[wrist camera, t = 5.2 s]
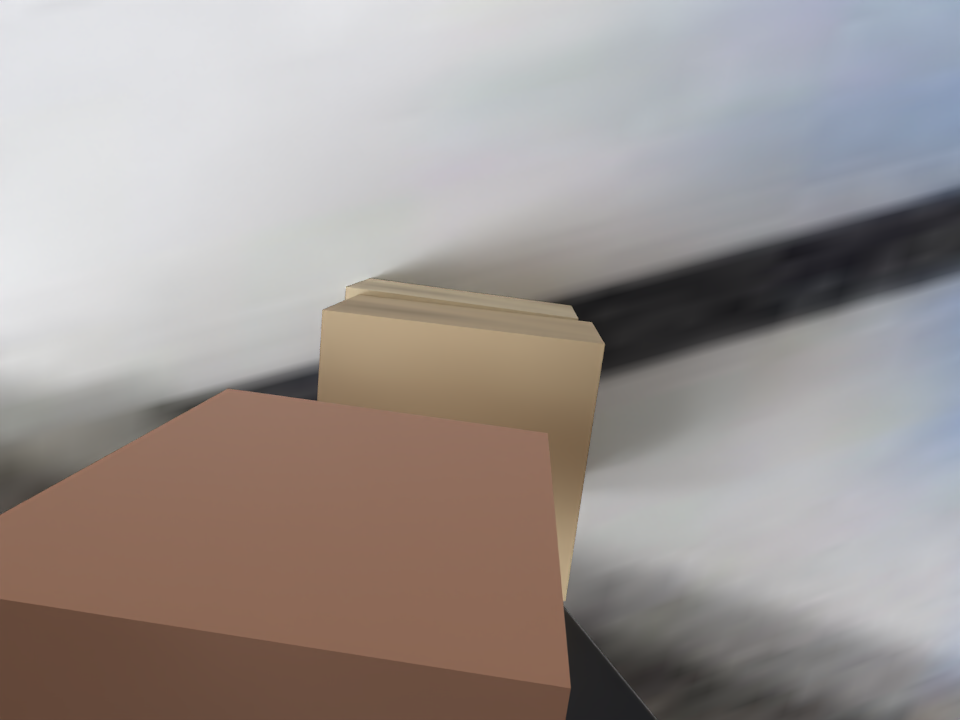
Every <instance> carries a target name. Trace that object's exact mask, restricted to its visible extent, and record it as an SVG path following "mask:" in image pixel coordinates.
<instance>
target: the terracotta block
mask: <svg viewBox="0 0 960 720" xmlns="http://www.w3.org/2000/svg"><path fill="white" fill-rule="evenodd" d="M570 690H571V684H570V673H569V662H568V651H567V640H566V629H565V618H564V607H563V595H562V584H561V573H560V562H559V551H558V540H557V529H556V518H555V507H554V496H553V485H552V474H551V462H550V451H549V440H548V433H544V432H537V431H529V430H522V429H515V428H508V427H501V426H493V425H486V424H479V423H472V422H465V421H457V420H450V419H443V418H436V417H429V416H422V415H414V414H407V413H400V412H393V411H386V410H378V409H371V408H364V407H357V406H350V405H342V404H335V403H328V402H321V401H314V400H306V399H299V398H292V397H285V396H278V395H270V394H263V393H256V392H249V391H242V390H234V389H226V390H224V391H223V392H221V393H219V394H217V395H215V396H214V397H212V398H210V399H208V400H206V401H205V402H203V403H201V404H199V405H197V406H196V407H194V408H192V409H190V410H188V411H187V412H185V413H183V414H181V415H179V416H178V417H176V418H174V419H172V420H170V421H169V422H167V423H165V424H163V425H161V426H160V427H158V428H156V429H154V430H152V431H151V432H149V433H147V434H145V435H143V436H142V437H140V438H138V439H136V440H134V441H132V442H131V443H129V444H127V445H125V446H123V447H122V448H120V449H118V450H116V451H114V452H113V453H111V454H109V455H107V456H105V457H104V458H102V459H100V460H98V461H96V462H95V463H93V464H91V465H89V466H87V467H86V468H84V469H82V470H80V471H78V472H77V473H75V474H73V475H71V476H69V477H68V478H66V479H64V480H62V481H60V482H59V483H57V484H55V485H53V486H51V487H50V488H48V489H46V490H44V491H42V492H41V493H39V494H37V495H35V496H33V497H32V498H30V499H28V500H26V501H24V502H23V503H21V504H19V505H17V506H15V507H13V508H12V509H10V510H8V511H6V512H4V513H3V514H1V515H0V720H565V719H566V713H567V708H568V702H569V696H570Z"/></svg>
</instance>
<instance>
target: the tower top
mask: <svg viewBox="0 0 960 720" xmlns="http://www.w3.org/2000/svg"><path fill="white" fill-rule="evenodd" d="M604 347H605V343H604V342H603V340H602V338H601V337H600V335H599V333H598V332H597V330H596V328H595V327H594V325H593V324H592V322H586V321H577V320H569V319H561V318H552V317H544V316H536V315H527V314H519V313H511V312H502V311H494V310H486V309H477V308H469V307H460V306H452V305H444V304H435V303H427V302H419V301H410V300H402V299H394V298H385V297H377V296H369V295H360V294H358V295H356V296H354V297H351V298H349V299H347V300H344V301H342V302H340V303H337V304H335V305H333V306H330V307H328V308H326V309H323V310H322V327H321V344H320V362H319V379H318V397H317V401H321V402H328V403H335V404H342V405H350V406H357V407H364V408H371V409H378V410H386V411H393V412H400V413H407V414H414V415H422V416H429V417H436V418H443V419H450V420H457V421H465V422H472V423H479V424H486V425H493V426H501V427H508V428H515V429H522V430H529V431H537V432H544V433H548V440H549V451H550V462H551V474H552V485H553V496H554V507H555V518H556V529H557V540H558V551H559V562H560V573H561V584H562V595H563V601H565V600H566V594H567V587H568V581H569V574H570V568H571V561H572V555H573V548H574V542H575V535H576V529H577V522H578V516H579V509H580V503H581V496H582V490H583V483H584V477H585V470H586V464H587V457H588V451H589V444H590V438H591V431H592V425H593V418H594V412H595V405H596V399H597V393H598V386H599V380H600V373H601V367H602V360H603V354H604Z"/></svg>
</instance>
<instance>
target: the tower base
mask: <svg viewBox="0 0 960 720" xmlns="http://www.w3.org/2000/svg"><path fill="white" fill-rule="evenodd" d="M358 294H360V295H369V296H377V297H385V298H394V299H402V300H410V301H419V302H427V303H435V304H444V305H452V306H460V307H469V308H477V309H486V310H494V311H502V312H511V313H519V314H527V315H536V316H544V317H552V318H561V319H569V320H577V321H578V317H577V315H576V313H575V312H574V310H573V308H572V306H571V305H563V304H556V303H549V302H541V301H534V300H527V299H519V298H512V297H505V296H497V295H490V294H483V293H475V292H468V291H461V290H453V289H446V288H438V287H431V286H424V285H416V284H409V283H402V282H394V281H387V280H380V279H372V278H369V279H367V280H364V281H361V282H358V283H355V284H352V285H350V286H347V287H346V293H345V300H347V299H349V298H351V297H354V296H356V295H358Z"/></svg>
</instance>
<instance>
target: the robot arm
mask: <svg viewBox="0 0 960 720" xmlns="http://www.w3.org/2000/svg"><path fill="white" fill-rule="evenodd" d="M563 607H564V606H563ZM564 618H565V629H566V640H567V651H568V662H569V673H570V684H571V690H570V696H569V702H568V708H567V713H566V719H565V720H657V719H656V717H655V716H654V715H653V714H652V713H651V711H650V710H649V709H648V708H647V706H646V705H645V704H644V703H643V702H642V700H641V699H640V698H639V697H638V696H637V694H636V693H635V692H634V691H633V689H632V688H631V687H630V686H629V685H628V683H627V682H626V681H625V680H624V679H623V677H622V676H621V675H620V674H619V672H618V671H617V670H616V669H615V668H614V666H613V665H612V664H611V663H610V662H609V660H608V659H607V658H606V657H605V655H604V654H603V653H602V652H601V651H600V649H599V648H598V647H597V646H596V645H595V643H594V642H593V641H592V640H591V639H590V637H589V636H588V635H587V634H586V632H585V631H584V630H583V629H582V628H581V626H580V625H579V624H578V623H577V622H576V620H575V619H574V618H573V617H572V615H571V614H570V613H569V612H568V611H567V609H566V608H565V607H564Z"/></svg>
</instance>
